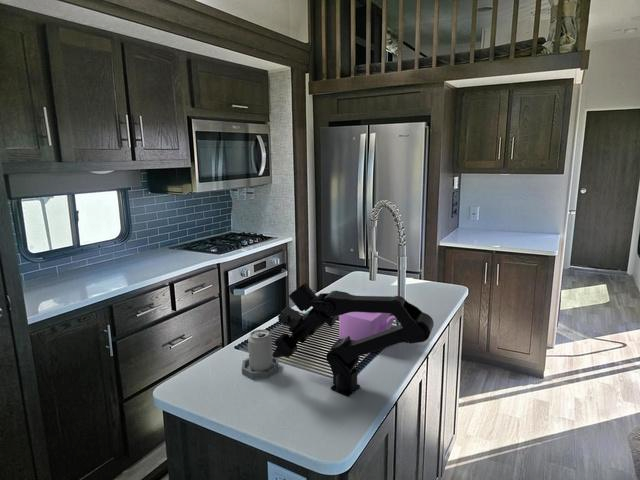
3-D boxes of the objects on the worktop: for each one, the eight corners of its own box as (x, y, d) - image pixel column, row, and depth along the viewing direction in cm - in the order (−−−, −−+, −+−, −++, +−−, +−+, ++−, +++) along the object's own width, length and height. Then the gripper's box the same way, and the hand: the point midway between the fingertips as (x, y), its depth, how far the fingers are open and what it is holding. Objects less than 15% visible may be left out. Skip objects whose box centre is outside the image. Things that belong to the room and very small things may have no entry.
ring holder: (286, 367, 138) (285, 361, 137) (259, 382, 129) (259, 376, 128) (261, 356, 145) (261, 351, 144) (235, 370, 136) (234, 364, 136)
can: (262, 375, 132) (260, 340, 129) (244, 369, 136) (242, 334, 133) (277, 365, 138) (276, 331, 135) (260, 359, 142) (258, 326, 139)
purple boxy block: (389, 358, 143) (391, 319, 140) (328, 340, 157) (327, 304, 154) (407, 341, 155) (408, 305, 152) (348, 325, 169) (348, 292, 166)
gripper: (307, 291, 135) (278, 318, 141) (279, 312, 118) (247, 342, 125) (330, 318, 133) (300, 344, 140) (305, 343, 117) (272, 371, 123)
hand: (280, 349), depth 132 cm, fingers open, 9 cm apart
